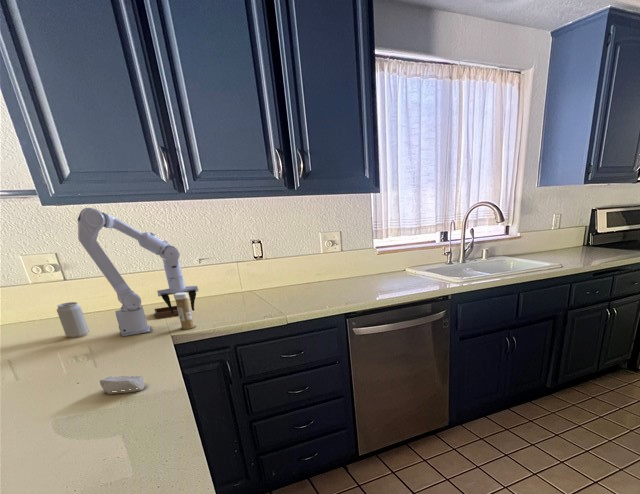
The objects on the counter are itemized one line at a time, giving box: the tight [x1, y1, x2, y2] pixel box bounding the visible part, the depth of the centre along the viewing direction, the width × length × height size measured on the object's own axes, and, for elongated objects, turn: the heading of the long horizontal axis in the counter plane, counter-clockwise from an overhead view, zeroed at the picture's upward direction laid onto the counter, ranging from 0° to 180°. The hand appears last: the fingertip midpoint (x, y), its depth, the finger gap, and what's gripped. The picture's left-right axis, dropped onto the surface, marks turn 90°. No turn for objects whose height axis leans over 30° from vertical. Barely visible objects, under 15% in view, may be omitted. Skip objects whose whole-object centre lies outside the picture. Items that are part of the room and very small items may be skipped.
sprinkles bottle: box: [173, 292, 195, 330], centre depth 163 cm, size 5×5×14 cm
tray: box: [154, 305, 179, 319], centre depth 184 cm, size 11×9×2 cm
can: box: [56, 301, 90, 339], centre depth 158 cm, size 8×8×12 cm
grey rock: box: [99, 375, 146, 395], centre depth 115 cm, size 10×6×6 cm, turn 91°
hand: (182, 311), depth 170 cm, fingers open, 7 cm apart
